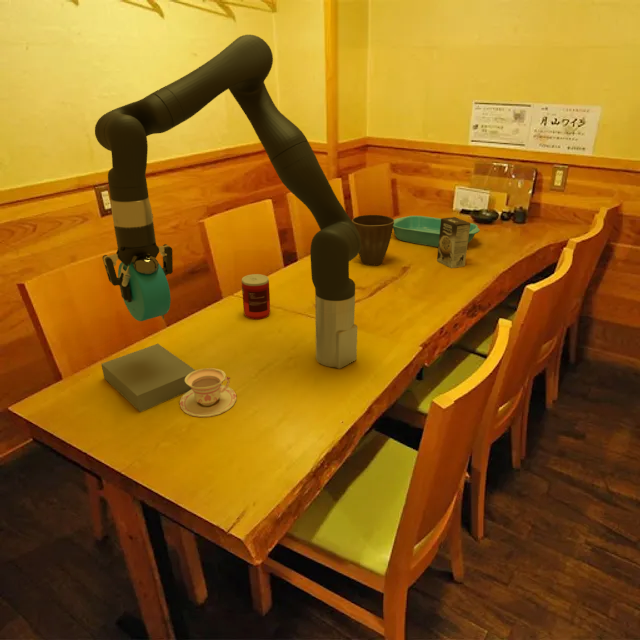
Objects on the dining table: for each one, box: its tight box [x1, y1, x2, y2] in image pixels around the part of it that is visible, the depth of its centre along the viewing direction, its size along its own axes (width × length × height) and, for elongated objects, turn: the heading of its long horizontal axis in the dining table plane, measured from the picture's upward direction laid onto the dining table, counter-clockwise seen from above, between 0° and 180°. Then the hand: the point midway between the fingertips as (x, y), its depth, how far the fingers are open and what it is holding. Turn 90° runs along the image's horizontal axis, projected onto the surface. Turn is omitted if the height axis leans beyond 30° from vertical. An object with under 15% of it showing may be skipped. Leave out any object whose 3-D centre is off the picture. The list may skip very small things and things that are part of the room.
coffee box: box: [436, 216, 472, 269], centre depth 187 cm, size 9×6×16 cm
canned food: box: [241, 273, 271, 320], centre depth 149 cm, size 8×8×11 cm
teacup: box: [179, 367, 237, 418], centre depth 110 cm, size 12×12×6 cm
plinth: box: [100, 343, 197, 413], centre depth 117 cm, size 18×14×4 cm
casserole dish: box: [392, 215, 480, 248], centre depth 215 cm, size 37×22×7 cm, turn 56°
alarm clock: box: [117, 254, 172, 322], centre depth 110 cm, size 13×6×15 cm, turn 41°
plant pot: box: [351, 214, 395, 267], centre depth 188 cm, size 15×15×16 cm
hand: (144, 297), depth 111 cm, fingers closed on alarm clock, 6 cm apart
